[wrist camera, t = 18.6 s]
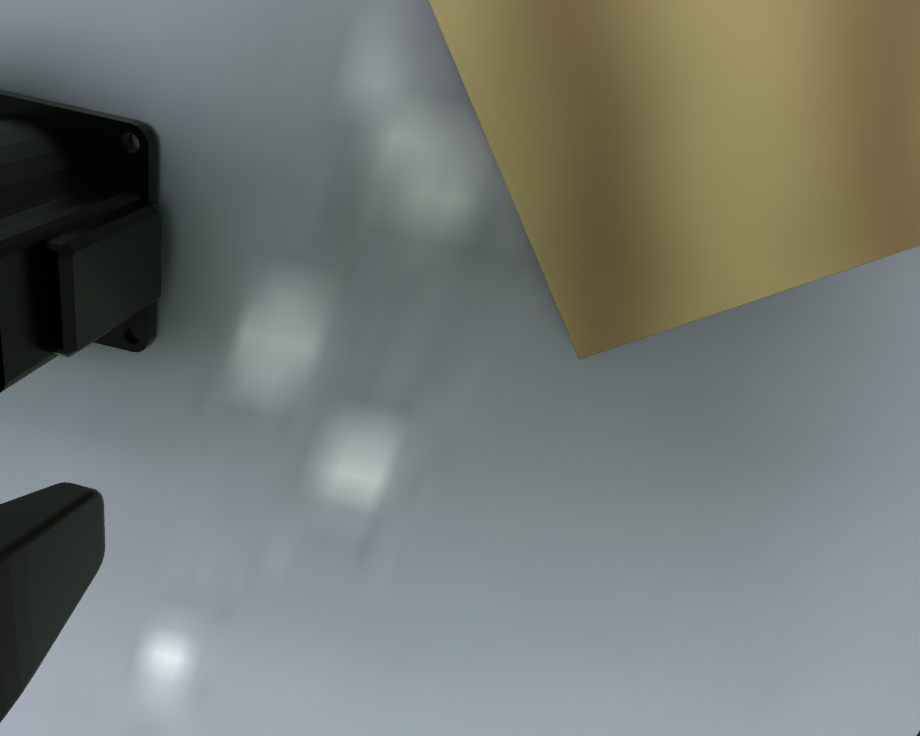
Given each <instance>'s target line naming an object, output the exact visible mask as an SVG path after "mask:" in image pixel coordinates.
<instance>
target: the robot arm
mask: <svg viewBox="0 0 920 736" xmlns="http://www.w3.org/2000/svg"><path fill="white" fill-rule="evenodd" d="M131 133H132V134H133V135H135V136H136V137H137V139H138V140H139V144H140V146H139V150H136V149H134V148H133V147H132V145H131V144H130V140H129V137H130V134H131ZM156 173H157V144H156V138H155V135H154V134H153V132H152V130H151V129H150V128H149V127H148V126H147V125H146V124H144V123H142V122H140V121H136V120H132V119H127V118H123V117H118V116H114V115H109V114H105V113H101V112H96V111H92V110H87V109H83V108H78V107H74V106H69V105H65V104H60V103H56V102H51V101H47V100H42V99H38V98H34V97H29V96H25V95H20V94H16V93H11V92H7V91H2V90H0V393H1V392H2V391H4V390H5V389H7V388H8V387H10V386H12V385H13V384H15V383H16V382H18V381H19V380H21V379H22V378H24V377H25V376H27V375H29V374H30V373H32V372H33V371H35V370H36V369H38V368H39V367H41V366H43V365H44V364H46V363H47V362H49V361H50V360H52V359H53V358H55V357H56V356H58V355H61V356H65V357H70V356H73V355H74V354H76V353H77V352H79V351H80V350H82V349H83V348H85V347H86V346H88V345H89V344H91V343H92V342H95V343H99V344H103V345H107V346H111V347H115V348H119V349H123V350H127V351H131V352H140V351H142V350H144V349H146V348H147V347H148V346H150V345H151V344H152V343H153V341H154V340H155V335H156V300H157V299H158V298H159V297H160V295H161V226H162V215H161V212H160V211H159V209H158V207H157V206H156ZM131 328H133V329H135V330H137V332H138V333H139V334H140V339H139V338H137V337H135V336H134V335H133V334H132V331H131ZM104 553H105V526H104V502H103V497H102V495H101V494H100V492H98V491H97V490H95V489H92V488H88V487H84V486H80V485H76V484H73V483H66V482H64V483H59V484H55V485H53V486H50V487H47V488H44V489H41V490H39V491H36V492H33V493H30V494H28V495H25V496H22V497H19V498H16V499H14V500H11V501H8V502H5V503H3V504H0V722H1V721H2V720H3V718H4V717H5V716H6V715H7V713H8V712H9V710H10V709H11V708H12V706H13V705H14V704H15V702H16V701H17V699H18V698H19V697H20V695H21V694H22V693H23V691H24V690H25V688H26V686H27V685H28V683H29V682H30V680H31V679H32V677H33V676H34V674H35V673H36V671H37V669H38V668H39V666H40V665H41V663H42V661H43V660H44V658H45V656H46V655H47V653H48V652H49V650H50V648H51V647H52V645H53V643H54V642H55V640H56V639H57V637H58V635H59V634H60V632H61V630H62V629H63V627H64V626H65V624H66V622H67V621H68V619H69V617H70V616H71V614H72V613H73V611H74V609H75V608H76V606H77V604H78V603H79V601H80V600H81V598H82V596H83V595H84V593H85V591H86V590H87V588H88V587H89V585H90V583H91V582H92V580H93V578H94V577H95V575H96V574H97V572H98V570H99V568H100V566H101V564H102V561H103V558H104ZM917 736H920V731H919V733H918V734H917Z"/></svg>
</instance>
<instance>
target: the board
mask: <svg viewBox="0 0 920 736" xmlns="http://www.w3.org/2000/svg"><path fill="white" fill-rule="evenodd" d="M429 2H430V5H431V7H432V10H433V12H434V14H435V17H436V19H437V21H438V24H439V26H440V29H441V31H442V33H443V36H444V38H445V41H446V43H447V45H448V48H449V50H450V52H451V55H452V57H453V60H454V62H455V64H456V67H457V69H458V72H459V74H460V76H461V79H462V81H463V83H464V86H465V88H466V91H467V93H468V95H469V98H470V100H471V103H472V105H473V107H474V110H475V112H476V114H477V117H478V119H479V122H480V124H481V126H482V129H483V131H484V134H485V136H486V138H487V141H488V143H489V145H490V148H491V150H492V153H493V155H494V157H495V160H496V162H497V164H498V167H499V169H500V172H501V174H502V176H503V179H504V181H505V184H506V186H507V188H508V191H509V193H510V195H511V198H512V200H513V203H514V205H515V207H516V210H517V212H518V215H519V217H520V219H521V222H522V224H523V226H524V229H525V231H526V234H527V236H528V238H529V241H530V243H531V246H532V248H533V250H534V253H535V255H536V257H537V260H538V262H539V265H540V267H541V269H542V272H543V274H544V277H545V279H546V281H547V284H548V286H549V288H550V291H551V293H552V296H553V298H554V300H555V303H556V305H557V307H558V310H559V312H560V315H561V317H562V319H563V322H564V324H565V327H566V329H567V331H568V334H569V336H570V338H571V341H572V343H573V346H574V348H575V350H576V353H577V355H578V358H579V359H581V358H584V357H587V356H590V355H593V354H596V353H599V352H602V351H605V350H608V349H611V348H614V347H617V346H620V345H623V344H626V343H629V342H632V341H635V340H638V339H641V338H644V337H647V336H650V335H653V334H656V333H659V332H662V331H665V330H668V329H671V328H674V327H677V326H680V325H683V324H686V323H689V322H692V321H695V320H698V319H701V318H704V317H707V316H710V315H713V314H716V313H719V312H722V311H725V310H728V309H731V308H734V307H737V306H740V305H743V304H746V303H749V302H752V301H755V300H758V299H761V298H764V297H767V296H770V295H772V294H775V293H778V292H781V291H784V290H787V289H790V288H793V287H796V286H799V285H802V284H805V283H808V282H811V281H814V280H817V279H820V278H823V277H826V276H829V275H832V274H835V273H838V272H841V271H844V270H847V269H850V268H853V267H856V266H859V265H862V264H865V263H868V262H871V261H874V260H877V259H880V258H883V257H886V256H889V255H892V254H895V253H898V252H901V251H904V250H907V249H910V248H913V247H916V246H919V245H920V0H429Z"/></svg>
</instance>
